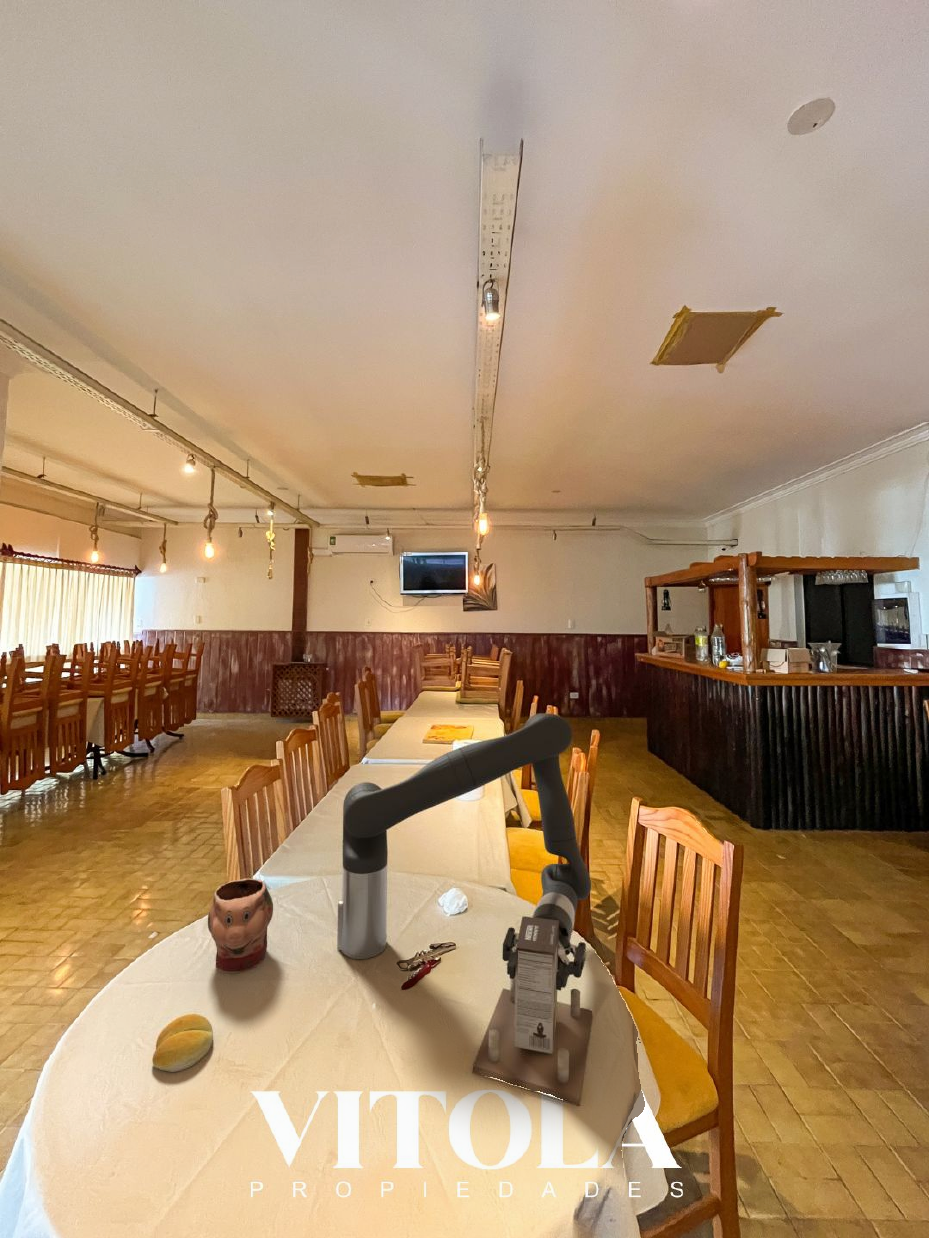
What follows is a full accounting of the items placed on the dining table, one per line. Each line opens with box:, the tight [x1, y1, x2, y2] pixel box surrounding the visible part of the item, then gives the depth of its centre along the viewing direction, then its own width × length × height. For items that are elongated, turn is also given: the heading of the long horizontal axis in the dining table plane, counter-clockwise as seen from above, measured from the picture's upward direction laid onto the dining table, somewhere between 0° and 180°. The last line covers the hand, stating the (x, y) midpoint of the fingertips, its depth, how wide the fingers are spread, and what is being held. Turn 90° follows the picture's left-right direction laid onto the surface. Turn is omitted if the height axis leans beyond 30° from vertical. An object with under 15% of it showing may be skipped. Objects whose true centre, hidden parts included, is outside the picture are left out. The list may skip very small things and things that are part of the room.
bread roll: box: [151, 1013, 214, 1073], centre depth 85 cm, size 8×9×4 cm
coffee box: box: [514, 916, 559, 1054], centre depth 88 cm, size 9×6×16 cm
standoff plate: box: [472, 976, 593, 1106], centre depth 88 cm, size 16×18×5 cm
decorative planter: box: [207, 877, 274, 973], centre depth 109 cm, size 20×12×14 cm, turn 24°
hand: (534, 978), depth 86 cm, fingers open, 7 cm apart
